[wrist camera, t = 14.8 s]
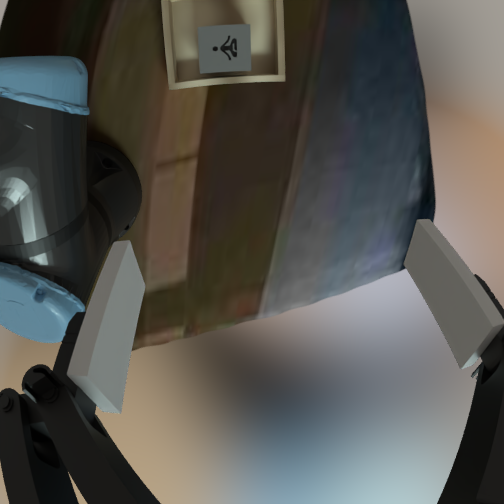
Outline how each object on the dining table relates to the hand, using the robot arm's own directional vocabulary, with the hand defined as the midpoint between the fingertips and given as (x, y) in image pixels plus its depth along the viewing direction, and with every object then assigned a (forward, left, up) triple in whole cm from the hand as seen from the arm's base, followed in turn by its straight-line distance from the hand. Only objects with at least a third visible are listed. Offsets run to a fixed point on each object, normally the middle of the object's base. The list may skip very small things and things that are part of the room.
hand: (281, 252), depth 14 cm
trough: (-2, +10, -27) cm, 29 cm away
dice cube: (-2, +8, -26) cm, 28 cm away
